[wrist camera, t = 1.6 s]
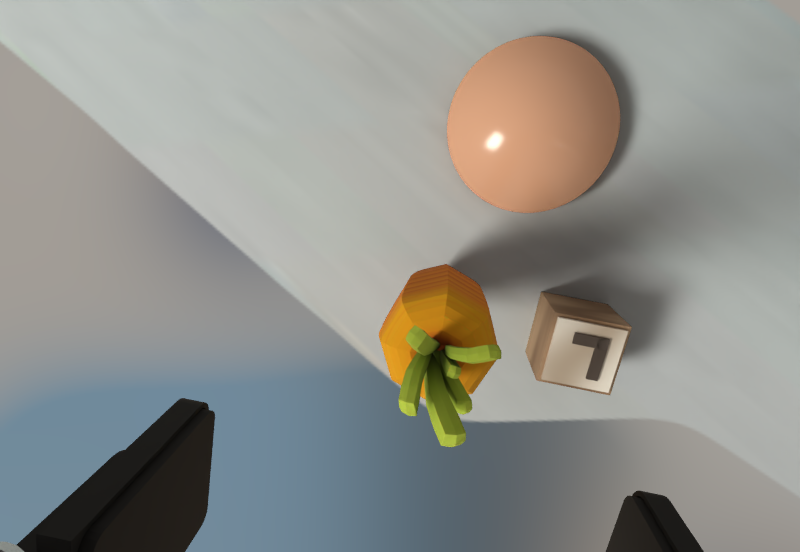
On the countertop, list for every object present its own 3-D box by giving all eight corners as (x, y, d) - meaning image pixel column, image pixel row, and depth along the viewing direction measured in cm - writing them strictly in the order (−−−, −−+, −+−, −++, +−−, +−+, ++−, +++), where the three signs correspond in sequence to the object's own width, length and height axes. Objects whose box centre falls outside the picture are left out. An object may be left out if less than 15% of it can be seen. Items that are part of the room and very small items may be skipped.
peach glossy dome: (633, 56, 25) (642, 51, 24) (586, 223, 27) (592, 226, 26) (465, 28, 25) (466, 22, 24) (433, 195, 28) (432, 196, 27)
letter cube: (607, 304, 28) (634, 329, 24) (589, 363, 29) (612, 398, 25) (541, 291, 29) (556, 314, 24) (525, 351, 30) (537, 383, 25)
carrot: (407, 235, 28) (364, 317, 14) (489, 247, 28) (532, 343, 14) (396, 312, 30) (347, 460, 15) (475, 324, 29) (501, 487, 15)
